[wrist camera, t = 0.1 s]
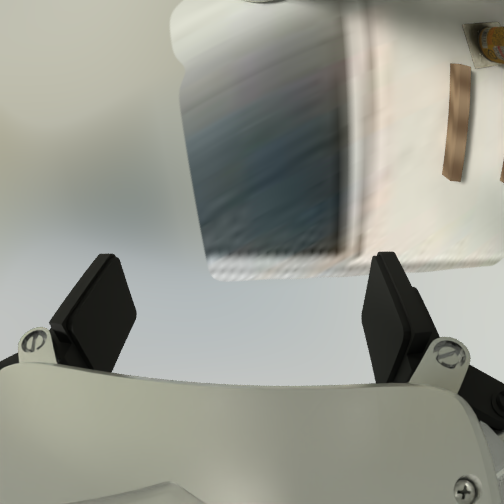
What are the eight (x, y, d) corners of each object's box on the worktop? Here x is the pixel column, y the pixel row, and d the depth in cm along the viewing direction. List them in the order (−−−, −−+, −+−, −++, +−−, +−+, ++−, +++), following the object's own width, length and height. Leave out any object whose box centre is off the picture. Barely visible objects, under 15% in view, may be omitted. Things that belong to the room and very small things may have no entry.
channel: (450, 63, 35) (460, 64, 32) (519, 83, 33) (529, 86, 31) (442, 174, 44) (450, 180, 41) (507, 181, 43) (516, 187, 40)
